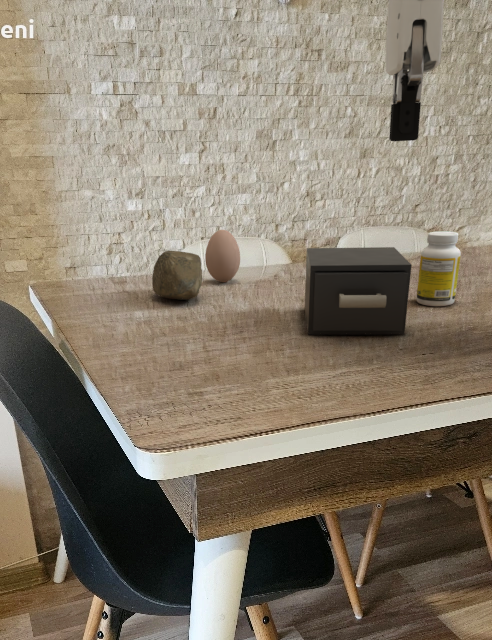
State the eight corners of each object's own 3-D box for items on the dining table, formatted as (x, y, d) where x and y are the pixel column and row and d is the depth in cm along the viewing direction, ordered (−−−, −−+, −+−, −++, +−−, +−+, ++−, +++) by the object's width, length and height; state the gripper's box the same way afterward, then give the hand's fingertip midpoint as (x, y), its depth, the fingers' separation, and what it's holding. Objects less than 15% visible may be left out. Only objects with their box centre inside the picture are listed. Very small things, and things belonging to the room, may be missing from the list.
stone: (217, 305, 113) (216, 256, 110) (167, 310, 111) (164, 260, 107) (187, 286, 127) (185, 243, 124) (142, 291, 125) (139, 246, 121)
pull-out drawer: (407, 339, 89) (413, 279, 85) (314, 339, 90) (316, 280, 86) (387, 306, 106) (392, 255, 102) (308, 307, 107) (310, 256, 103)
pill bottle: (431, 297, 115) (439, 229, 110) (461, 303, 110) (472, 232, 105) (407, 302, 112) (415, 233, 107) (438, 309, 107) (447, 236, 102)
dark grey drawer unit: (404, 334, 94) (411, 264, 90) (307, 334, 95) (310, 265, 91) (388, 309, 108) (394, 247, 104) (304, 309, 109) (306, 248, 105)
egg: (224, 277, 135) (223, 226, 131) (247, 281, 131) (247, 229, 126) (198, 282, 131) (197, 230, 127) (221, 287, 127) (220, 233, 122)
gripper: (469, -67, 66) (449, 139, 75) (436, -34, 79) (422, 138, 88) (392, -61, 67) (381, 143, 75) (372, -29, 80) (364, 141, 88)
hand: (403, 140), depth 81 cm, fingers closed
